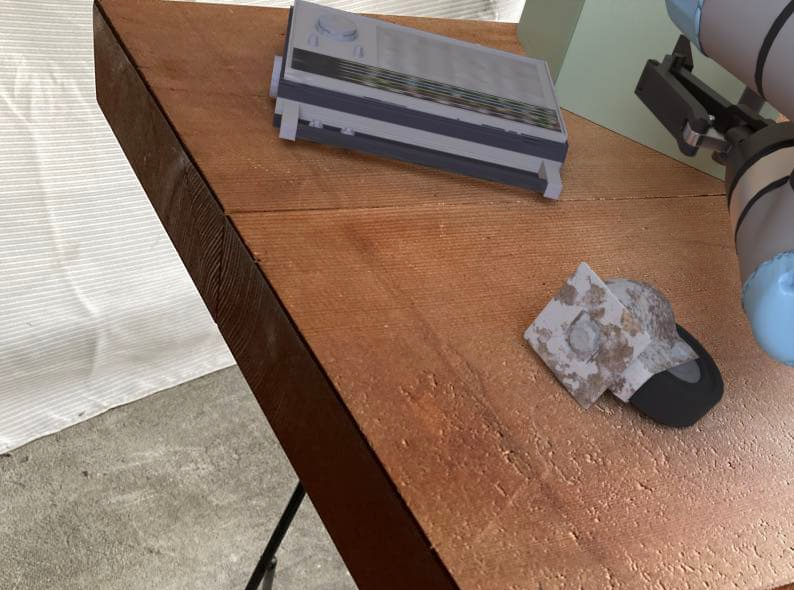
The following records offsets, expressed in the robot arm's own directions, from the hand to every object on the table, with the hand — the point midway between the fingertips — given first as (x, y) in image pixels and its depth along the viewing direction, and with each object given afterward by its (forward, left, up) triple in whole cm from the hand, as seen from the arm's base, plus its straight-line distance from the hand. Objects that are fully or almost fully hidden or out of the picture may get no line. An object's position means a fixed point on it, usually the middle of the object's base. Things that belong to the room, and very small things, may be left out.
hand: (755, 77), depth 80 cm
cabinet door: (+7, -4, -11) cm, 13 cm away
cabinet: (+12, -20, -11) cm, 26 cm away
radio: (+25, +9, -11) cm, 29 cm away
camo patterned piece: (0, +32, -11) cm, 34 cm away
